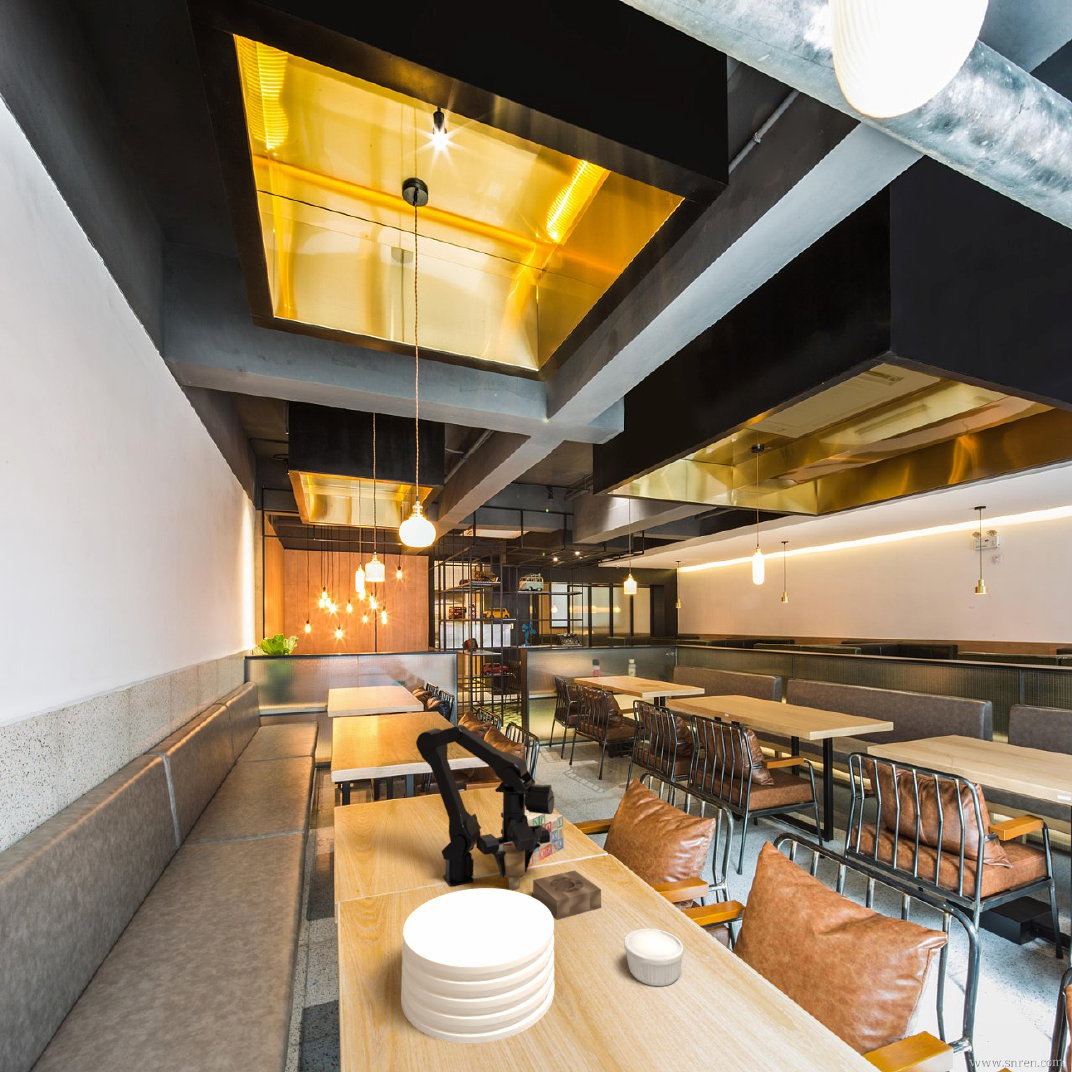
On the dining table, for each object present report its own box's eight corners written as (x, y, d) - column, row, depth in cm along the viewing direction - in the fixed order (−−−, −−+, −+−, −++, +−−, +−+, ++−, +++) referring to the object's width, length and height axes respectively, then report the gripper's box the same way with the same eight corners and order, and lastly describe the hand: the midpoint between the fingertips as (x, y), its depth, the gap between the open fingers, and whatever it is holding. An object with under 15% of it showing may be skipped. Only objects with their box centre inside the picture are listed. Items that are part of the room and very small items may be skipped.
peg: (508, 894, 143) (508, 856, 144) (499, 885, 148) (499, 848, 149) (528, 889, 145) (528, 851, 147) (519, 881, 150) (519, 844, 152)
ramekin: (696, 976, 110) (695, 946, 111) (655, 999, 103) (654, 966, 104) (653, 949, 119) (652, 922, 120) (613, 968, 112) (612, 939, 113)
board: (557, 919, 131) (556, 900, 131) (533, 897, 141) (533, 879, 142) (601, 907, 136) (600, 889, 137) (575, 887, 147) (574, 870, 147)
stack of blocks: (547, 843, 176) (546, 801, 178) (564, 848, 172) (563, 804, 174) (501, 867, 159) (501, 819, 161) (519, 872, 156) (519, 824, 158)
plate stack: (478, 932, 126) (479, 876, 127) (584, 982, 108) (583, 916, 110) (369, 997, 104) (371, 928, 106) (478, 1072, 87) (479, 988, 88)
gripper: (492, 825, 138) (492, 896, 136) (560, 813, 147) (561, 879, 144) (476, 812, 148) (475, 877, 146) (540, 801, 156) (540, 863, 154)
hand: (513, 874), depth 147 cm, fingers closed on peg, 6 cm apart
